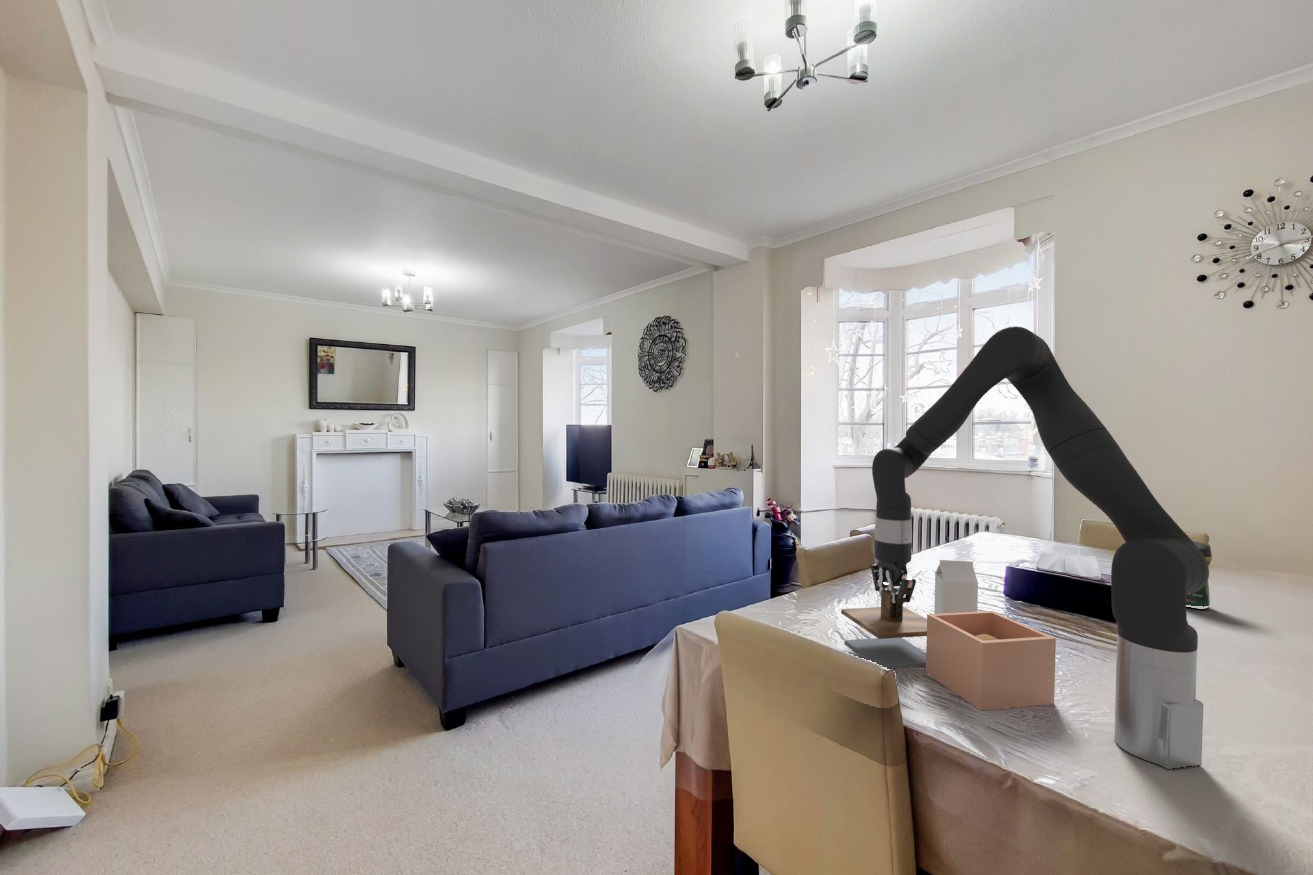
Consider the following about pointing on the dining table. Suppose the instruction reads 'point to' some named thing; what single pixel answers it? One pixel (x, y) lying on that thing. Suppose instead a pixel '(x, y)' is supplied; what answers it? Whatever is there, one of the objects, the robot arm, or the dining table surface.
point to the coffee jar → (1202, 595)
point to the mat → (889, 652)
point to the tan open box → (991, 659)
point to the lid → (887, 620)
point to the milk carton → (955, 587)
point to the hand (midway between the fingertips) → (891, 615)
